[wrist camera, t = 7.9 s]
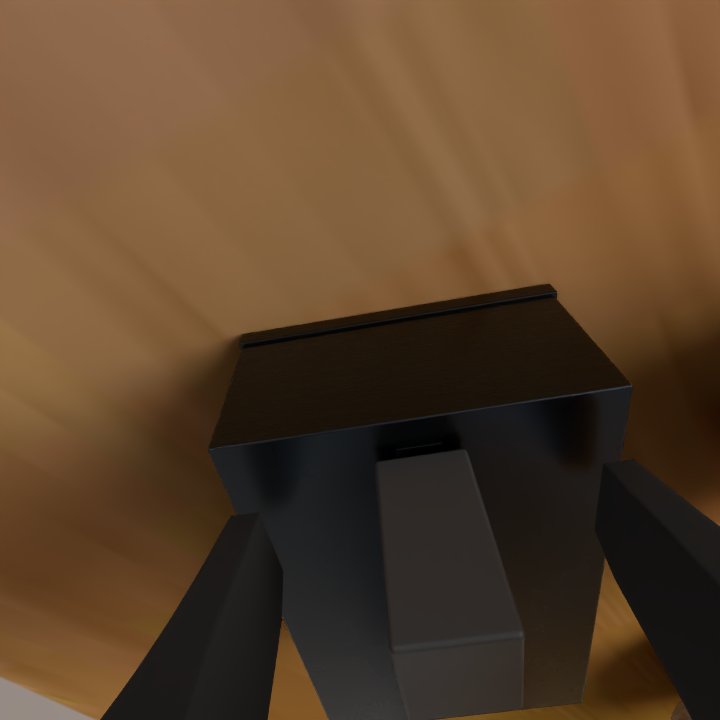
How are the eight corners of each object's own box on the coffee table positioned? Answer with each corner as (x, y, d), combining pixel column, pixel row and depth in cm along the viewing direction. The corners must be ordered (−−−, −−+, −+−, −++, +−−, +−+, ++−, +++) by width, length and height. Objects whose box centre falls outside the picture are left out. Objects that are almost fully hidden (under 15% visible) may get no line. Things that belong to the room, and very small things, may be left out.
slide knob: (388, 532, 12) (407, 724, 8) (373, 460, 11) (388, 652, 7) (471, 520, 12) (524, 711, 8) (465, 446, 10) (527, 635, 7)
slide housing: (333, 603, 22) (331, 736, 18) (241, 334, 15) (199, 450, 10) (537, 577, 22) (586, 707, 17) (550, 282, 14) (642, 383, 10)
